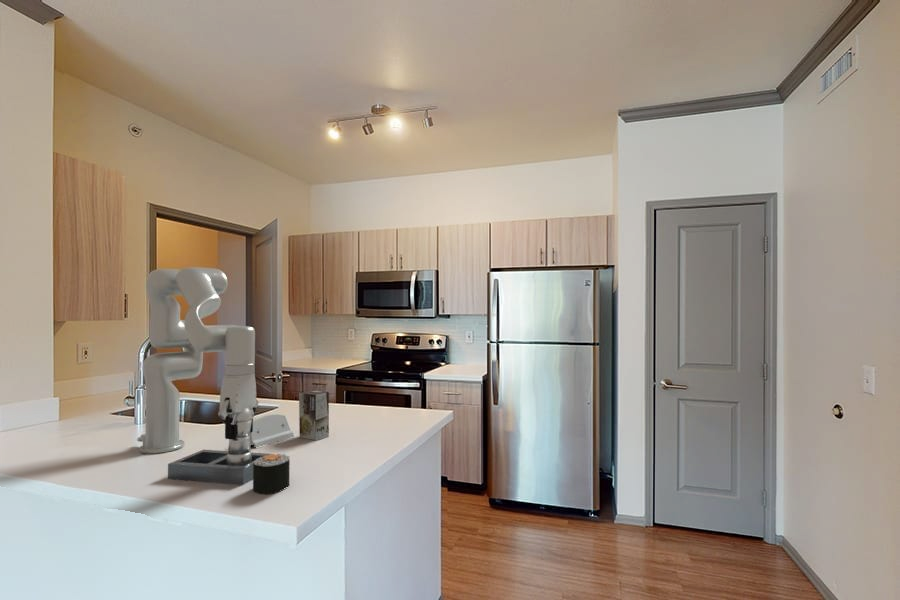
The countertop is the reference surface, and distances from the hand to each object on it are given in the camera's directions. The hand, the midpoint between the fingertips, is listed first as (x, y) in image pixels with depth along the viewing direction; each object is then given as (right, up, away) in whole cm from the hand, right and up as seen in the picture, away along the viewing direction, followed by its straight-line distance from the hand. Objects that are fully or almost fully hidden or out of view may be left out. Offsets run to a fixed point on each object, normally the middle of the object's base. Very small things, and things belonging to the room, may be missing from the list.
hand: (239, 434), depth 125 cm
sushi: (+13, -11, -10) cm, 20 cm away
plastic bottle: (0, -10, 0) cm, 10 cm away
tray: (-5, -11, +1) cm, 12 cm away
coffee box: (+9, -12, +37) cm, 41 cm away
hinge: (-5, -12, +32) cm, 35 cm away
